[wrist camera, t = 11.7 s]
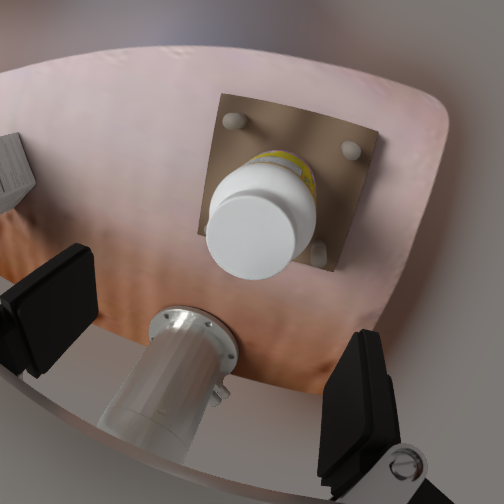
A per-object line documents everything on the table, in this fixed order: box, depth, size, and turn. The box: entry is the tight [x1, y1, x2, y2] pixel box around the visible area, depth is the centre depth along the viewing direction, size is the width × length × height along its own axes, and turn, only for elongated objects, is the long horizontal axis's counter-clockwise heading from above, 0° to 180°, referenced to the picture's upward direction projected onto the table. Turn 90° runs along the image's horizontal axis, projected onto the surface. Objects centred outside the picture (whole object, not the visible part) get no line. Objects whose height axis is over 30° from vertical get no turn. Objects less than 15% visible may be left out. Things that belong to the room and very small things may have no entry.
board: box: [198, 93, 378, 272], centre depth 26 cm, size 14×14×4 cm
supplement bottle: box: [206, 150, 316, 280], centre depth 21 cm, size 7×7×13 cm
